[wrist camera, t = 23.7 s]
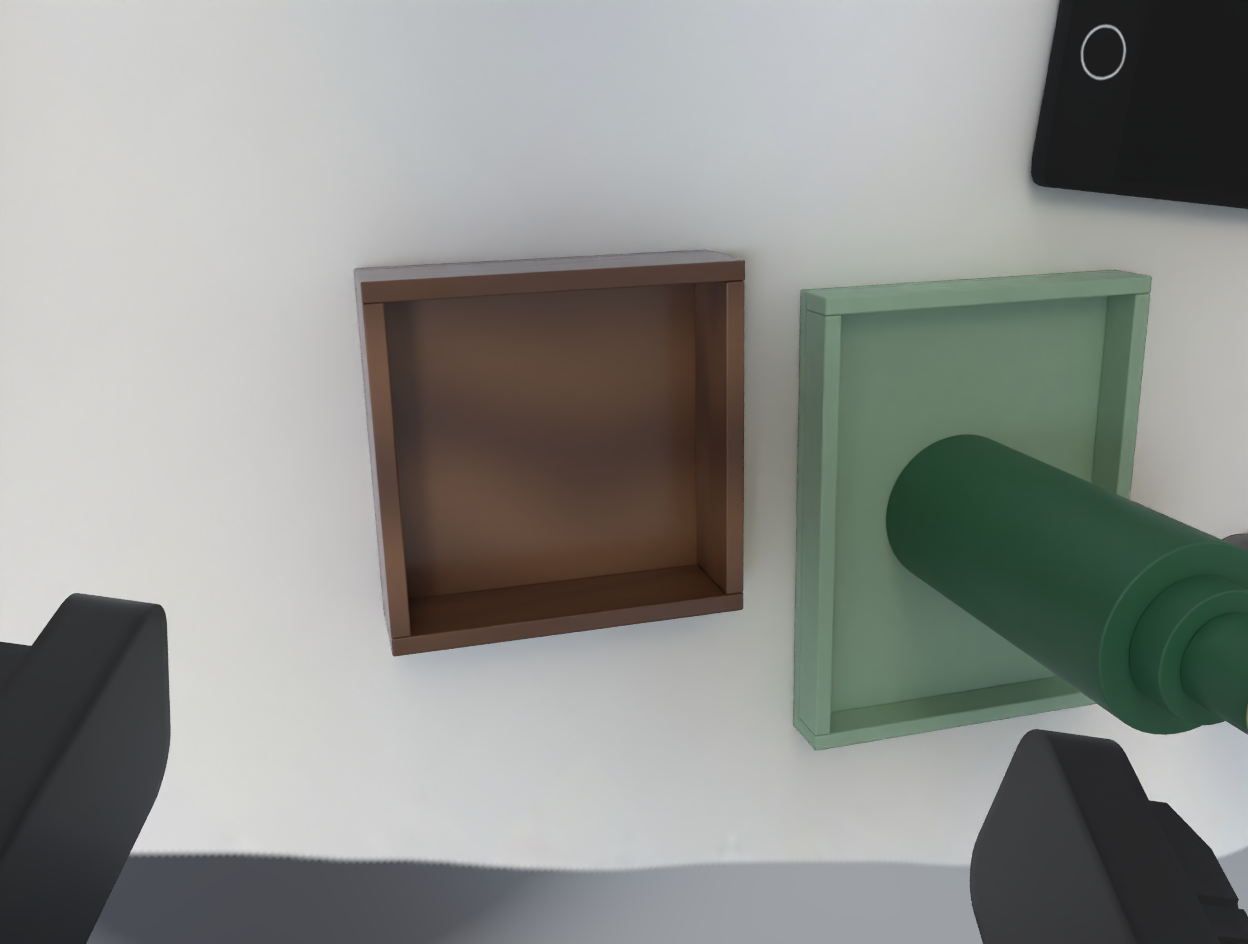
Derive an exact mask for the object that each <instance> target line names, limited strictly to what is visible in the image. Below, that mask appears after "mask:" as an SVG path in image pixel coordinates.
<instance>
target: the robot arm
mask: <svg viewBox="0 0 1248 944" xmlns="http://www.w3.org/2000/svg"><path fill="white" fill-rule="evenodd" d="M169 746H170V700H169V671H168V641H167V620H166V615H165V612H164V609H163V608H162V606H161V605H159V604H152V603H145V602H138V601H131V600H123V599H116V598H109V597H102V596H95V595H87V594H80V593H74V594H72V595H70V596H69V597H68V598H67V599H65V601H64V602H63V603H62V604H61V606H60V607H59V608H58V610H57V611H56V613H55V614H54V615H53V617H52V618H51V620H50V621H49V622H48V624H47V625H46V627H45V628H44V629H43V631H42V632H41V634H40V635H39V636H38V638H37V639H36V641H35V642H34V643H33V645H32V646H27V645H20V644H13V643H5V642H0V944H86V943H87V941H88V938H89V936H90V934H91V932H92V930H93V928H94V926H95V924H96V922H97V920H98V918H99V916H100V914H101V912H102V910H103V907H104V905H105V903H106V901H107V899H108V897H109V895H110V893H111V891H112V889H113V887H114V885H115V883H116V881H117V879H118V877H119V874H120V872H121V870H122V868H123V866H124V864H125V862H126V860H127V858H128V856H129V854H130V852H131V850H132V848H133V846H134V844H135V841H136V839H137V837H138V835H139V833H140V831H141V829H142V827H143V825H144V823H145V821H146V819H147V817H148V815H149V813H150V810H151V808H152V806H153V804H154V802H155V800H156V797H157V795H158V792H159V789H160V786H161V783H162V780H163V776H164V773H165V768H166V764H167V759H168V753H169ZM970 893H971V901H972V906H973V910H974V914H975V917H976V921H977V924H978V928H979V931H980V935H981V938H982V941H983V944H1248V916H1247V914H1246V913H1245V911H1244V910H1243V909H1238V904H1237V903H1238V900H1239V899H1238V898H1237V896H1236V894H1235V892H1234V890H1233V888H1232V887H1231V885H1230V883H1229V881H1228V879H1227V877H1226V875H1225V874H1224V872H1223V870H1222V868H1221V866H1220V864H1219V862H1218V860H1217V858H1216V857H1215V855H1214V853H1213V851H1212V849H1211V848H1210V847H1209V846H1208V845H1207V844H1206V843H1205V842H1204V841H1203V840H1202V839H1201V838H1200V837H1199V836H1198V835H1197V834H1196V833H1195V832H1194V831H1193V829H1192V828H1191V827H1190V826H1189V825H1188V824H1187V823H1186V822H1185V821H1184V820H1183V819H1182V818H1181V817H1180V816H1179V815H1178V814H1177V813H1176V812H1175V811H1174V810H1173V809H1172V808H1171V807H1170V806H1169V805H1168V804H1167V803H1163V802H1156V801H1149V800H1148V798H1147V796H1146V794H1145V792H1144V790H1143V788H1142V786H1141V784H1140V782H1139V780H1138V778H1137V776H1136V774H1135V772H1134V770H1133V768H1132V766H1131V764H1130V762H1129V760H1128V758H1127V756H1126V754H1125V752H1124V750H1123V749H1122V748H1121V746H1120V745H1119V744H1118V743H1116V742H1115V741H1113V740H1110V739H1104V738H1097V737H1089V736H1082V735H1075V734H1068V733H1061V732H1053V731H1046V730H1039V729H1033V730H1031V731H1029V732H1027V733H1026V734H1025V735H1024V737H1023V738H1022V739H1021V741H1020V743H1019V745H1018V747H1017V749H1016V751H1015V753H1014V756H1013V758H1012V760H1011V762H1010V765H1009V767H1008V769H1007V771H1006V774H1005V776H1004V778H1003V780H1002V783H1001V785H1000V787H999V790H998V792H997V794H996V796H995V799H994V801H993V803H992V805H991V808H990V810H989V812H988V814H987V817H986V819H985V821H984V823H983V826H982V828H981V830H980V832H979V835H978V837H977V840H976V842H975V845H974V849H973V853H972V859H971V867H970Z"/></svg>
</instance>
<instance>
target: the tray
mask: <svg viewBox="0 0 1248 944" xmlns="http://www.w3.org/2000/svg"><path fill="white" fill-rule="evenodd" d="M1151 280H1152V277H1151V276H1148V275H1142V274H1136V273H1130V272H1123V271H1119V270H1105V271H1090V272H1074V273H1058V274H1043V275H1027V276H1012V277H996V278H981V279H965V280H949V281H934V282H918V283H903V284H887V285H871V286H856V287H840V288H825V289H809V290H801V317H800V375H799V433H798V491H797V549H796V607H795V665H794V723H793V725H794V727H795V728H796V729H797V730H798V731H799V732H800V733H801V734H802V736H803V737H804V738H805V739H806V740H807V741H808V743H809V744H810V745H811V746H812V747H813V748H814V750H823V749H829V748H835V747H841V746H847V745H853V744H859V743H864V742H870V741H876V740H882V739H888V738H894V737H900V736H906V735H912V734H918V733H924V732H930V731H936V730H942V729H948V728H954V727H960V726H966V725H972V724H978V723H983V722H989V721H995V720H1001V719H1007V718H1013V717H1019V716H1025V715H1031V714H1037V713H1043V712H1049V711H1055V710H1061V709H1067V708H1073V707H1079V706H1085V705H1091V704H1097V703H1095V702H1094V701H1093V700H1091V699H1090V698H1088V697H1087V696H1085V695H1084V694H1083V693H1081V692H1080V691H1078V690H1077V689H1076V688H1074V687H1073V686H1071V685H1070V684H1068V683H1067V682H1066V681H1064V680H1063V679H1061V678H1060V677H1059V676H1057V675H1056V674H1054V673H1053V672H1051V671H1050V670H1049V669H1047V668H1046V667H1044V666H1043V665H1041V664H1040V663H1039V662H1037V661H1036V660H1034V659H1033V658H1032V657H1030V656H1029V655H1027V654H1026V653H1024V652H1023V651H1022V650H1020V649H1019V648H1017V647H1016V646H1015V645H1013V644H1012V643H1010V642H1009V641H1007V640H1006V639H1005V638H1003V637H1002V636H1000V635H999V634H998V633H996V632H995V631H993V630H992V629H990V628H989V627H988V626H986V625H985V624H983V623H982V622H980V621H979V620H978V619H976V618H975V617H973V616H972V615H971V614H969V613H968V612H966V611H965V610H963V609H962V608H961V607H959V606H958V605H956V604H955V603H954V602H952V601H951V600H949V599H948V598H946V597H945V596H944V595H942V594H941V593H939V592H938V591H936V590H935V589H934V588H932V587H931V586H929V585H928V584H927V583H925V582H924V581H922V580H921V579H919V578H918V577H917V576H915V575H914V574H912V573H911V572H910V571H909V570H907V569H906V568H905V567H904V566H903V565H902V564H901V563H900V562H899V560H898V559H897V557H896V556H895V554H894V552H893V550H892V548H891V546H890V543H889V539H888V535H887V529H886V512H887V505H888V501H889V497H890V494H891V491H892V489H893V486H894V484H895V482H896V480H897V478H898V477H899V475H900V474H901V472H902V470H903V469H904V468H905V467H906V465H907V464H908V463H909V462H910V461H911V460H912V459H913V458H914V457H915V456H916V455H917V454H918V453H919V452H921V451H922V450H923V449H925V448H926V447H928V446H929V445H931V444H933V443H935V442H937V441H939V440H942V439H944V438H948V437H951V436H956V435H969V434H971V435H979V436H983V437H986V438H989V439H991V440H994V441H996V442H998V443H1000V444H1003V445H1005V446H1007V447H1010V448H1012V449H1014V450H1017V451H1019V452H1021V453H1023V454H1026V455H1028V456H1030V457H1033V458H1035V459H1037V460H1040V461H1042V462H1044V463H1046V464H1049V465H1051V466H1053V467H1056V468H1058V469H1060V470H1062V471H1065V472H1067V473H1069V474H1072V475H1074V476H1076V477H1079V478H1081V479H1083V480H1085V481H1088V482H1090V483H1092V484H1095V485H1097V486H1099V487H1102V488H1104V489H1106V490H1108V491H1111V492H1113V493H1115V494H1118V495H1120V496H1122V497H1124V498H1127V499H1129V500H1130V491H1131V481H1132V471H1133V461H1134V451H1135V441H1136V431H1137V421H1138V411H1139V401H1140V391H1141V381H1142V371H1143V361H1144V351H1145V341H1146V331H1147V321H1148V311H1149V301H1150V294H1149V293H1150V290H1151Z"/></svg>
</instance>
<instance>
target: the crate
mask: <svg viewBox="0 0 1248 944" xmlns="http://www.w3.org/2000/svg"><path fill="white" fill-rule="evenodd" d="M744 279H745V261H744V260H741V259H737V258H734V257H730V256H727V255H723V254H719V253H716V252H712V251H708V250H691V251H672V252H654V253H635V254H616V255H598V256H579V257H561V258H542V259H524V260H505V261H487V262H468V263H450V264H431V265H413V266H394V267H376V268H357V269H354V280H355V291H356V302H357V314H358V325H359V336H360V347H361V359H362V370H363V381H364V393H365V404H366V415H367V427H368V438H369V449H370V461H371V472H372V483H373V494H374V506H375V517H376V528H377V540H378V551H379V562H380V574H381V585H382V596H383V607H384V615H385V620H386V625H387V630H388V635H389V640H390V645H391V650H392V654H393V656H401V655H408V654H416V653H423V652H431V651H438V650H446V649H453V648H461V647H468V646H476V645H483V644H490V643H498V642H505V641H513V640H520V639H528V638H535V637H543V636H550V635H558V634H565V633H572V632H580V631H587V630H595V629H602V628H610V627H617V626H625V625H632V624H640V623H647V622H655V621H662V620H669V619H677V618H684V617H692V616H699V615H707V614H714V613H722V612H729V611H737V610H742V609H743V593H742V592H743V521H744V281H743V280H744Z"/></svg>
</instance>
